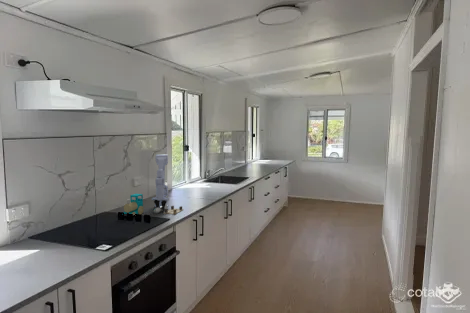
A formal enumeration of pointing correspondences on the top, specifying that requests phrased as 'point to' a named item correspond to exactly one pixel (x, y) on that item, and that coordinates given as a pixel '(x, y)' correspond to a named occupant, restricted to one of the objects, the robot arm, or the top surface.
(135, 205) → the toy train
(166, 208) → the tube
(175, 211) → the collar board
